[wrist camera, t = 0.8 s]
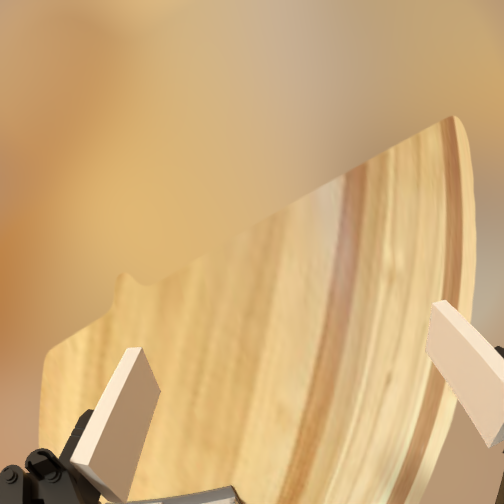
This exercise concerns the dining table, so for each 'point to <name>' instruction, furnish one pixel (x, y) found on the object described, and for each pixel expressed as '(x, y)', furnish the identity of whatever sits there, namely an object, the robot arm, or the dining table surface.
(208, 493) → the keyhole plate
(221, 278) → the dining table surface
